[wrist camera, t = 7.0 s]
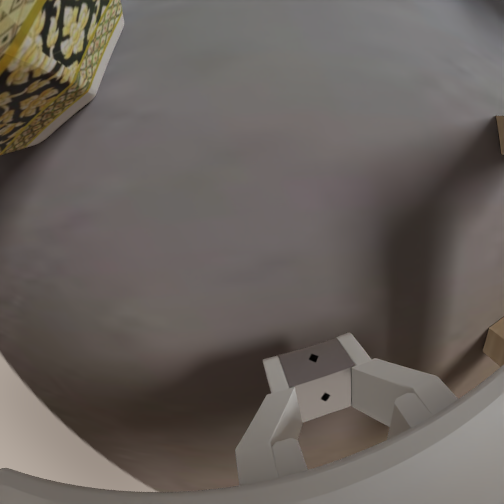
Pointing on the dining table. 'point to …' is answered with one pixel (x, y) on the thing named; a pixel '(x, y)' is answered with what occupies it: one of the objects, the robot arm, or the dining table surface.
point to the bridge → (500, 334)
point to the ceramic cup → (51, 63)
